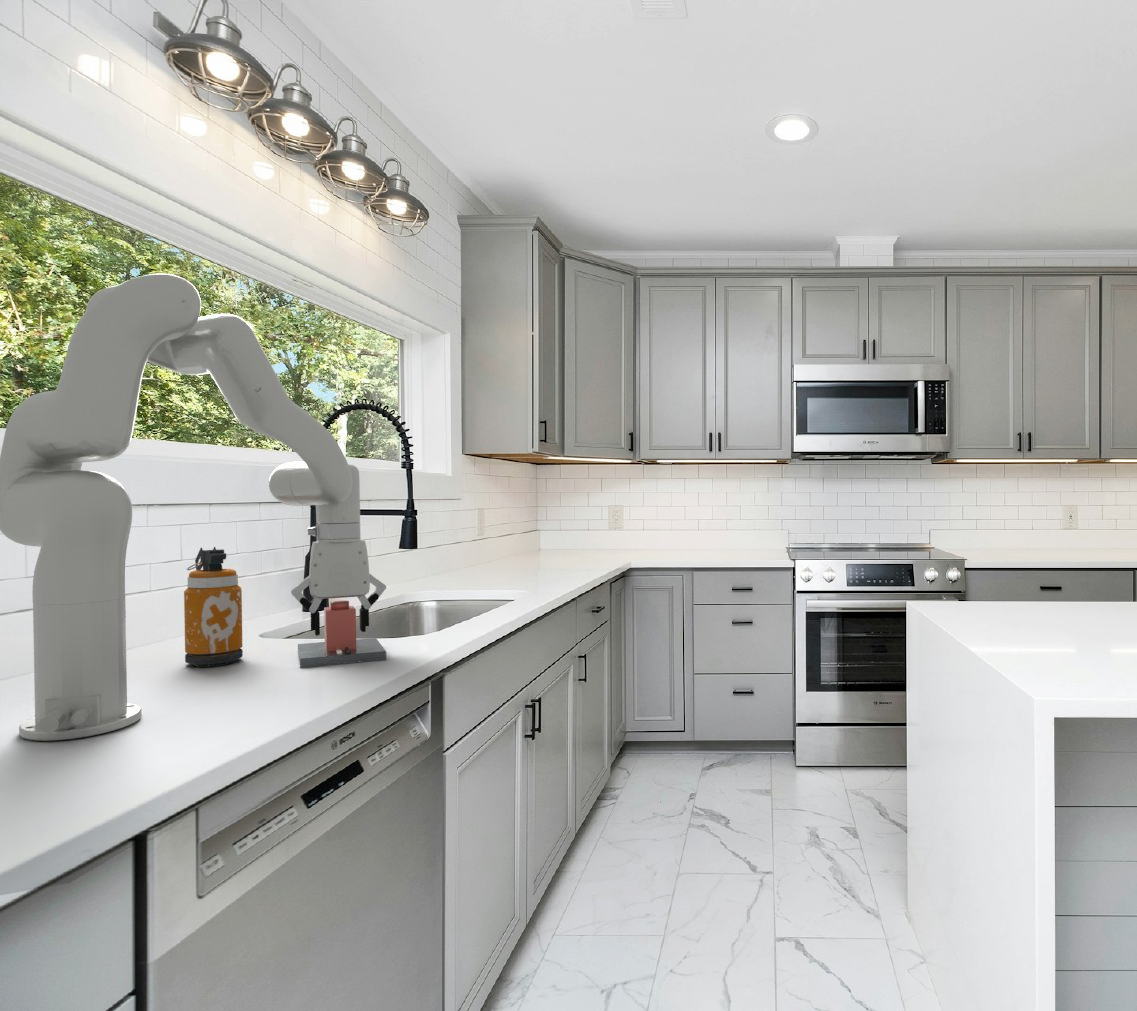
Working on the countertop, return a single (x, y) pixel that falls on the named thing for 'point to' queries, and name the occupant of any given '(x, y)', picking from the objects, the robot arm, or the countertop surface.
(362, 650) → the grey plate with peg
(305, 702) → the countertop surface
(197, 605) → the canister
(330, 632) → the pink cube with dome
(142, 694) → the countertop surface
